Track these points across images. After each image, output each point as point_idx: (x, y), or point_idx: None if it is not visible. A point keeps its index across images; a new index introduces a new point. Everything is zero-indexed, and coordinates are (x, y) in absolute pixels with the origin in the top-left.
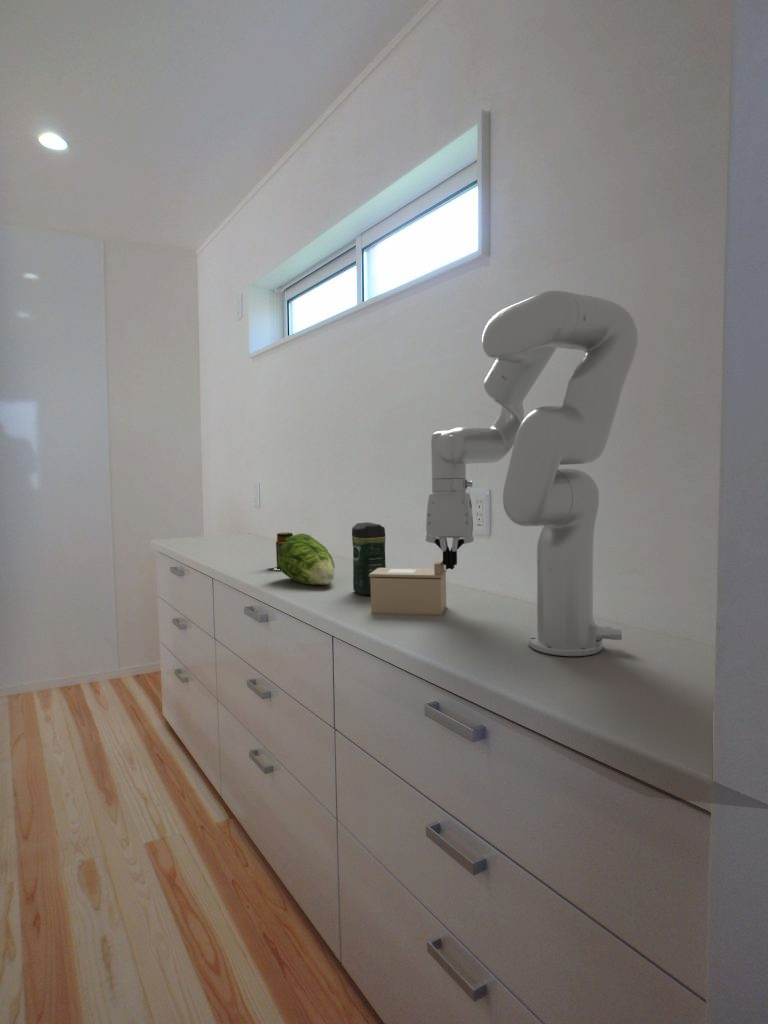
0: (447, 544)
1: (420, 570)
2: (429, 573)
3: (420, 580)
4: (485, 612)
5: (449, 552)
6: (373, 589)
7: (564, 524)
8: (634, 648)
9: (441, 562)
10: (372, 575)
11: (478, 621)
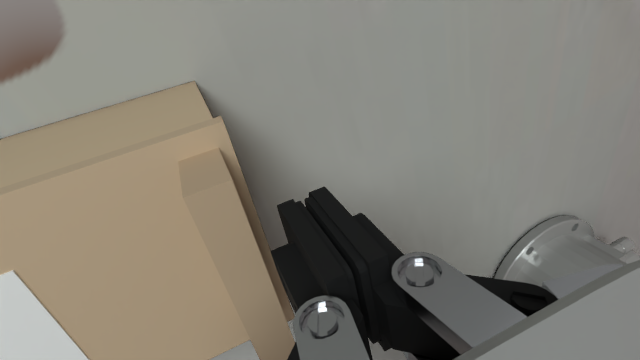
0: (359, 336)
1: (68, 273)
2: (203, 314)
3: None
4: (370, 100)
5: (373, 342)
6: None
7: None
8: (621, 218)
9: (280, 306)
10: None
11: (375, 210)
